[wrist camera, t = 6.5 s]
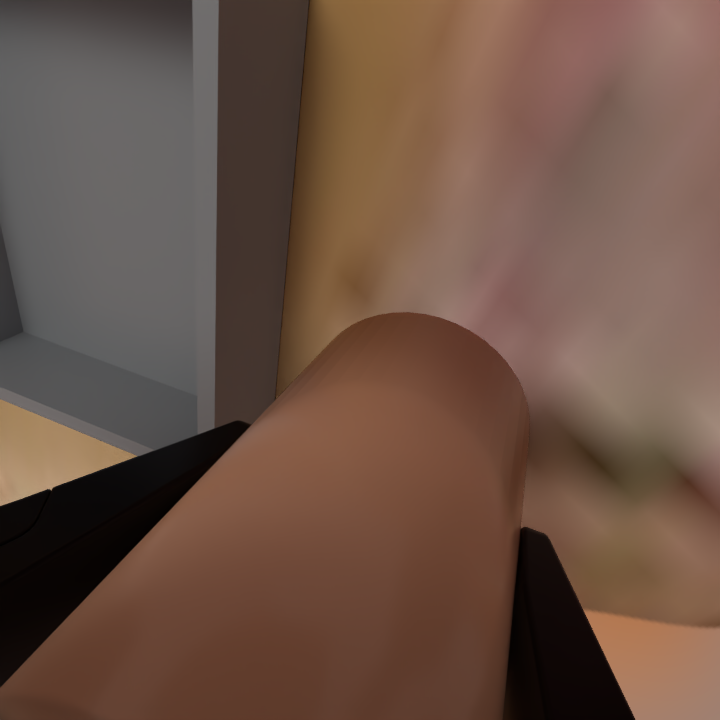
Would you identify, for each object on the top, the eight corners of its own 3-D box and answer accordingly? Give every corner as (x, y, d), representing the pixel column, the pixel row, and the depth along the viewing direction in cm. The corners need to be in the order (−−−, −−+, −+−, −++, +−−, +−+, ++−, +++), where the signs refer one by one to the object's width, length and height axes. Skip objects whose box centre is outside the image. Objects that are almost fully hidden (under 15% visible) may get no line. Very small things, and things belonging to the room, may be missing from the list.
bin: (311, -22, 12) (219, -67, 9) (272, 421, 20) (214, 487, 16) (-52, -76, 15) (-226, -126, 12) (31, 332, 22) (-62, 373, 19)
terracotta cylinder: (566, 354, 9) (582, 977, 3) (490, 532, 12) (400, 1080, 5) (325, 284, 10) (-88, 603, 4) (302, 460, 13) (30, 840, 6)
